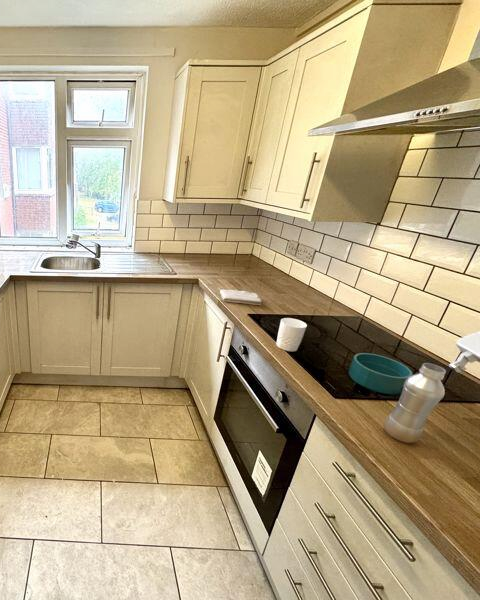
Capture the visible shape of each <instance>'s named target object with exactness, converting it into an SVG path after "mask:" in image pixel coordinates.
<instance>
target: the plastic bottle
mask: <svg viewBox="0 0 480 600" xmlns="http://www.w3.org/2000/svg"><path fill="white" fill-rule="evenodd" d="M446 373H447V370H446V369H445V368H444V367H442V366H439V365H437V364H434V363H430V362H424V363H422V365H421V367H420V368H419V369H418V373H415V374H413V375H412V376H410V377H408V378H407V379H406V380H405V382H404V386H403V390H402V393H400V397H399V399H398V402H397V404H396V405H395V407H394V408H393V410H392V411H391V413H390V414H388V416H387V417H386V418H385V420H384V425H383V428H384V430H385V433H387V434H388V435H389V436H391V437H392V438H394V439H395V440H397V441H399V442H402V443H405V444H406V443H407V444H412V443H413V444H414V443H417V442H418V441H419V440H420V439H421V438H422V436H423V433H424V427H425V425H426V422H427V420H428V418H429V416H430V414H431V413H432V411H433V410H434V409H435V407H436V406H437V405H438V404H439V402H440V401H441V400H443V398H444V396H445V393H446V392H445V391H446V390H445V386H444V384H443V383H442V380H444V378H445V375H446Z"/></svg>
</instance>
